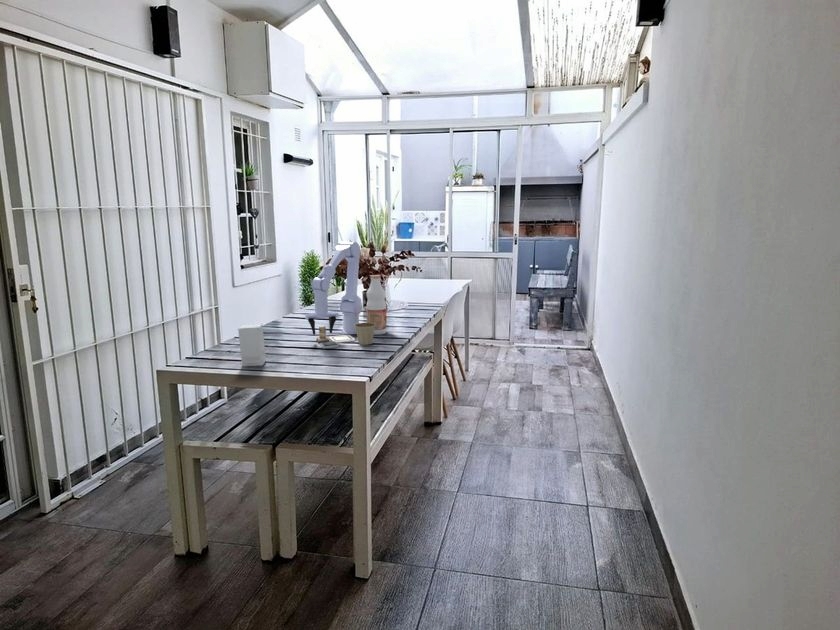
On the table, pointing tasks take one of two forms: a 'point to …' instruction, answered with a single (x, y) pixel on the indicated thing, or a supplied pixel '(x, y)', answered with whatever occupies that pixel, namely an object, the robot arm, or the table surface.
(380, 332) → the fruit juice
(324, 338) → the stamp
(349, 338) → the print card
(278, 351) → the table surface
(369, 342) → the flower pot
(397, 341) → the table surface
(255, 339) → the skincare box
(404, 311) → the table surface
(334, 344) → the ink pad
